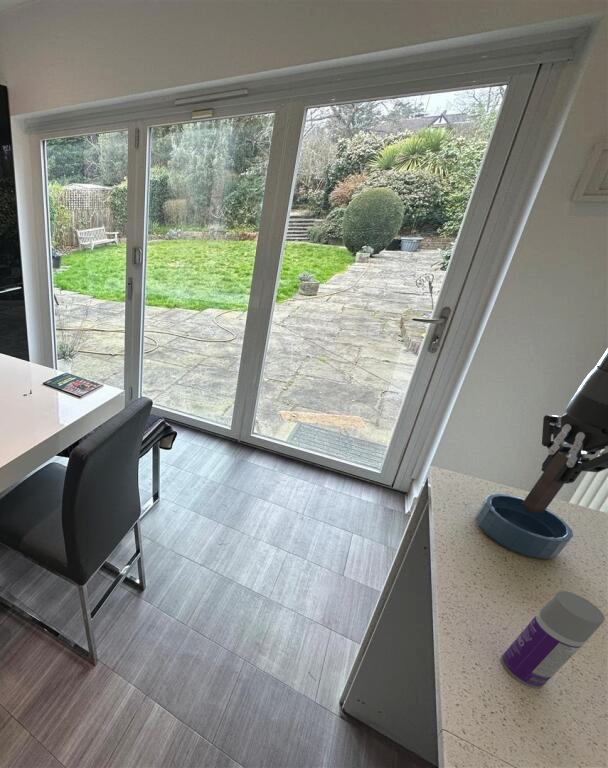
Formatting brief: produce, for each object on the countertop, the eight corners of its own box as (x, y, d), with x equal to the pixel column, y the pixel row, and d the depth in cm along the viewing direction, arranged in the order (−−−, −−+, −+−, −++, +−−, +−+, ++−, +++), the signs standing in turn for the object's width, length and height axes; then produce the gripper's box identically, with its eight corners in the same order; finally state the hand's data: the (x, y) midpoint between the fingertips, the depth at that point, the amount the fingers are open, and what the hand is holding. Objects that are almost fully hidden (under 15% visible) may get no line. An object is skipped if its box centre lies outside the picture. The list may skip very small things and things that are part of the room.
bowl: (521, 515, 88) (534, 496, 86) (575, 564, 77) (592, 544, 75) (459, 510, 89) (471, 490, 87) (505, 557, 78) (519, 537, 76)
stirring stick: (533, 505, 81) (570, 452, 75) (542, 513, 79) (581, 459, 73) (521, 504, 81) (557, 451, 75) (530, 512, 79) (568, 458, 73)
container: (492, 651, 63) (544, 587, 56) (526, 656, 62) (583, 592, 55) (516, 685, 58) (575, 621, 51) (552, 691, 58) (617, 626, 51)
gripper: (684, 420, 62) (614, 505, 70) (594, 379, 74) (543, 456, 82) (630, 416, 63) (566, 501, 71) (550, 376, 75) (504, 452, 83)
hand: (554, 476), depth 76 cm, fingers closed on stirring stick, 2 cm apart
